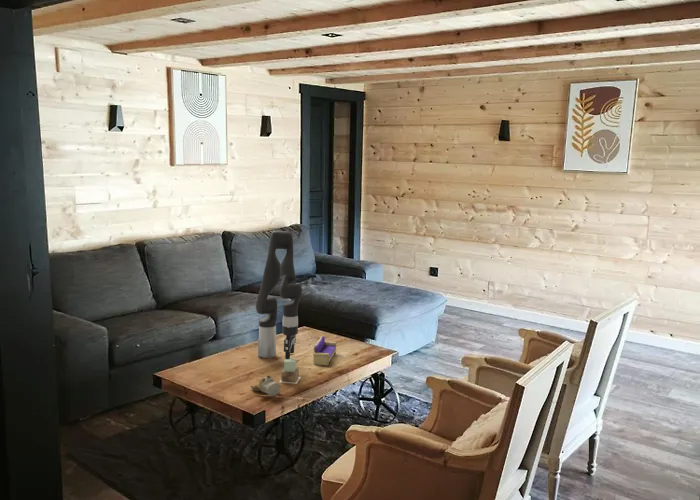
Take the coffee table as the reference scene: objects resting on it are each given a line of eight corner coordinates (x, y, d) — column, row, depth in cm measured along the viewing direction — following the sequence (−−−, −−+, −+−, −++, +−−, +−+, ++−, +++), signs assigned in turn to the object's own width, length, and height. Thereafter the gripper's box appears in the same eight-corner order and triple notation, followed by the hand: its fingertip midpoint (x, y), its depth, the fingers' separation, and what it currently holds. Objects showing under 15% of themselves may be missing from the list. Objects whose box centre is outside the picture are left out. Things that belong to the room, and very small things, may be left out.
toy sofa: (328, 366, 322) (329, 347, 320) (312, 364, 323) (312, 346, 322) (336, 353, 342) (336, 336, 341) (321, 352, 344) (321, 334, 342)
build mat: (275, 384, 295) (275, 383, 295) (281, 375, 306) (281, 374, 306) (299, 386, 293) (299, 385, 293) (304, 377, 305) (304, 376, 305)
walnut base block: (281, 381, 297) (281, 371, 296) (284, 376, 303) (284, 366, 303) (295, 382, 296) (295, 372, 295) (298, 377, 303) (298, 367, 302)
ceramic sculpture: (267, 382, 274) (248, 374, 285) (267, 400, 275) (249, 392, 286) (286, 376, 282) (267, 369, 293) (286, 394, 283) (268, 387, 294)
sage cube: (284, 371, 297) (284, 361, 296) (286, 367, 302) (286, 358, 301) (294, 371, 296) (294, 362, 295) (296, 368, 301) (296, 358, 300)
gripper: (286, 319, 302) (285, 350, 305) (278, 327, 288) (278, 360, 291) (301, 320, 301) (300, 351, 304) (294, 329, 287) (293, 361, 290)
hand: (289, 356), depth 298 cm, fingers open, 8 cm apart
